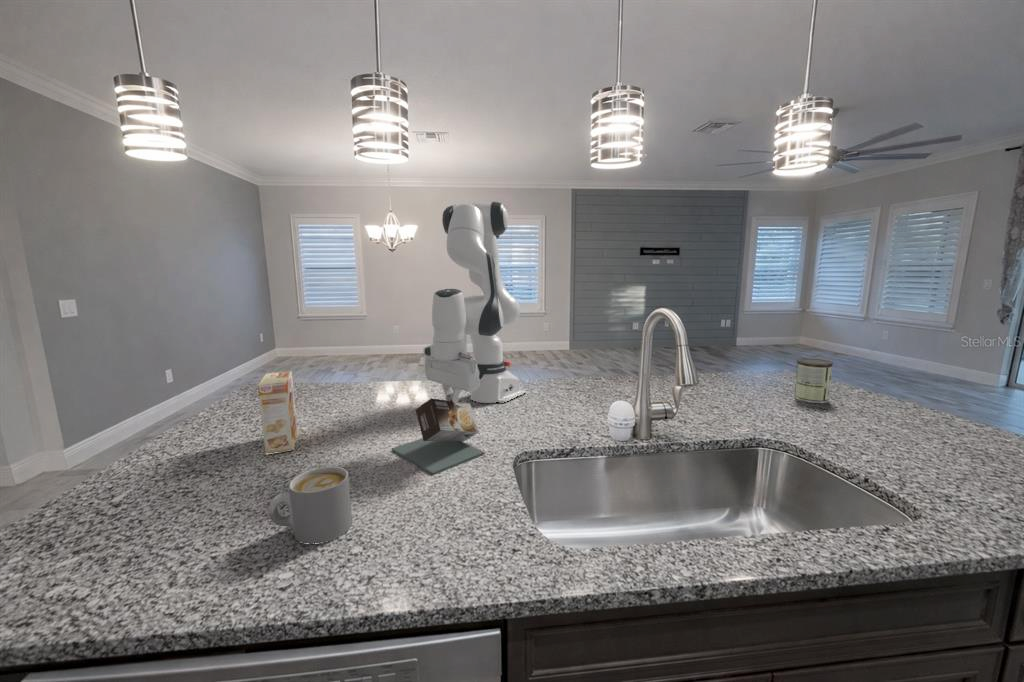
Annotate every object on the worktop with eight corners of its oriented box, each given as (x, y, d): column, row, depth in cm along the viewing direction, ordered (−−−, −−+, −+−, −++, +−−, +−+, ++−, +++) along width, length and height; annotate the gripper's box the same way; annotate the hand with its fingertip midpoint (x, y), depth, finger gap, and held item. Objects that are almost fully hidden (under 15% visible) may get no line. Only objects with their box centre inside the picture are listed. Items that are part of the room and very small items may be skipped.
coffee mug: (356, 510, 84) (352, 464, 82) (346, 541, 74) (341, 489, 73) (285, 518, 82) (280, 470, 80) (265, 551, 72) (258, 497, 70)
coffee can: (790, 394, 157) (794, 357, 155) (823, 396, 153) (827, 359, 151) (798, 401, 147) (802, 363, 145) (833, 404, 144) (837, 365, 141)
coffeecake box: (294, 451, 113) (287, 382, 110) (264, 456, 110) (255, 385, 107) (299, 432, 126) (292, 370, 123) (272, 436, 124) (265, 372, 121)
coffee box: (454, 413, 121) (414, 408, 108) (470, 403, 119) (431, 396, 106) (463, 442, 117) (422, 441, 104) (480, 432, 114) (440, 430, 101)
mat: (441, 434, 123) (441, 432, 123) (484, 454, 109) (484, 452, 109) (391, 450, 112) (391, 448, 112) (432, 475, 98) (432, 472, 98)
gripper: (484, 353, 105) (486, 406, 107) (438, 345, 119) (440, 392, 121) (464, 357, 100) (466, 412, 102) (419, 348, 115) (422, 396, 117)
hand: (452, 401), depth 112 cm, fingers closed, pressing on coffee box
